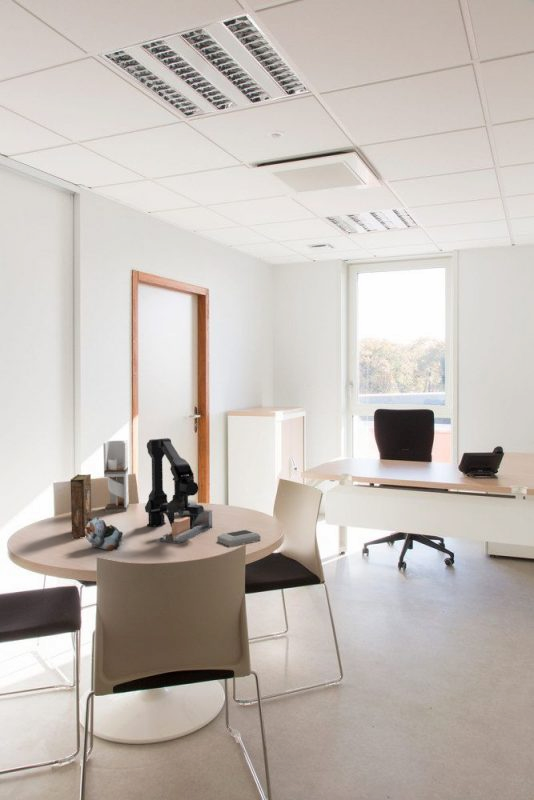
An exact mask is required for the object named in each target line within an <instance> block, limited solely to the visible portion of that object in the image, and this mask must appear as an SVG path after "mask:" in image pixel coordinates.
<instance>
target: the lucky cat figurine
mask: <svg viewBox="0 0 534 800" xmlns="http://www.w3.org/2000/svg"><path fill="white" fill-rule="evenodd" d="M87 520H88V521H87V526H86V528H85V534H86V537H85V539H86V540H87V541H88V542H89V543H90V544H91V546H92V548H100V549H103V550H106V551H109V550H110V551H114V550H113V549H115V550H117V549H118V548H120V547H121V545H122V537H123V531H120V530H119V529H118V527H116V526H114V525H113V524H110V525H107V524H106V522H105V521H104V520H103V519H100V518H99V517H95V518H94V519H90V518H88V519H87Z"/></svg>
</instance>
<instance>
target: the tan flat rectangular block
mask: <svg viewBox="0 0 534 800" xmlns="http://www.w3.org/2000/svg"><path fill="white" fill-rule="evenodd" d="M189 529H190V517H189V516H185V517H183V518H181V519H177V520H176V521H174V522H173V523H172V527H171V532H172V537H174V536H176V535H178V534H180V533H182V532H185V531H187V530H189Z"/></svg>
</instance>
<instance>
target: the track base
mask: <svg viewBox="0 0 534 800" xmlns="http://www.w3.org/2000/svg"><path fill="white" fill-rule="evenodd" d="M189 514H190V512H189ZM210 528H211V529H212V528H213V510H212V509H204V512H202V513H201V514H199V515H198V517H197V519H196V521H195V523H194V526H193V528H192V529H189V530H187V531H185V532H182V533H180V534H178V535H176V536H174V537H172V531H171V532H169V533H166V534H164V535H162V536H163V537H160V538H158V541H159V542H162V541H165V542H164V543H171V542H175V543H174V544H182V543H184V542H186V541H188V540H190V539H192V538H194V537H196V535H197V536H199V535H200V533H201V534H203V533H205V532H207V531H209V530H211V529H210ZM208 529H209V530H208ZM206 530H207V531H206ZM204 531H205V532H204ZM202 532H203V533H202ZM198 534H199V535H198ZM181 542H182V543H181Z"/></svg>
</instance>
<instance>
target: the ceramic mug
mask: <svg viewBox="0 0 534 800" xmlns="http://www.w3.org/2000/svg"><path fill="white" fill-rule="evenodd" d="M188 503H190V505H189V506H188V507H191V506H194V505H198V504H197V501H196V500H194V499H188ZM183 509H185V508H183ZM177 514H178V516H179V517H184V516H189V511H182V510H179V512H178V513H177Z"/></svg>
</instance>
